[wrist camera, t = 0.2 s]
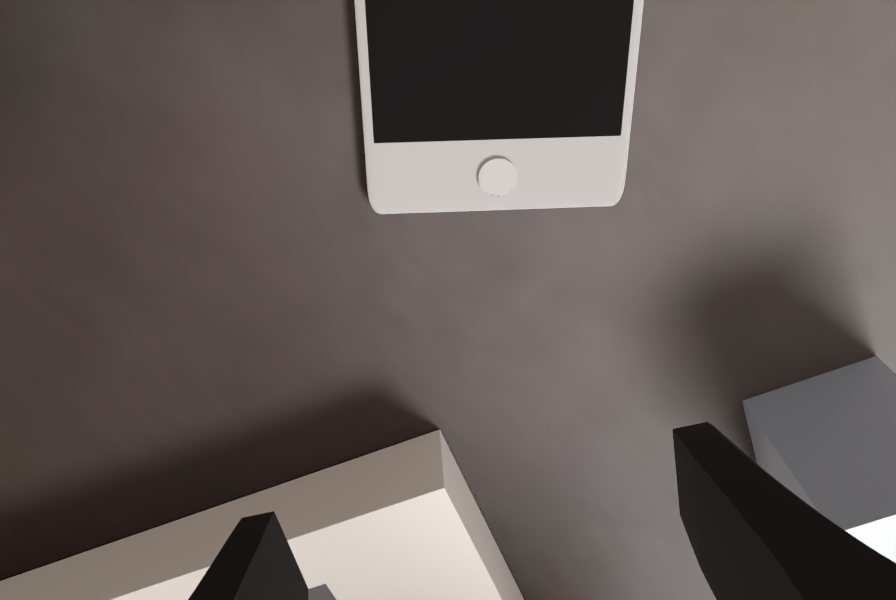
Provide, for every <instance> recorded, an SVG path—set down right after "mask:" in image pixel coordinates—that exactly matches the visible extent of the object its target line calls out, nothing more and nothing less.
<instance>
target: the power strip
mask: <svg viewBox="0 0 896 600" xmlns="http://www.w3.org/2000/svg"><path fill="white" fill-rule="evenodd" d="M272 511H274V512H275V514H276V516H277V519H278V521H279V523H280V526H281V528H282V530H283V532H284V535H285V537H286V539H287V541H288V544H289V546H290V548H291V551H292V553H293V555H294V557H295V560H296V562H297V564H298V566H299V569H300V571H301V573H302V575H303V578H304V580H305V582H306V585H307V587H308V600H524V598H523V596H522V594H521V592H520V590H519V588H518V586H517V584H516V582H515V580H514V578H513V576H512V574H511V572H510V570H509V568H508V566H507V564H506V562H505V560H504V558H503V556H502V554H501V552H500V550H499V548H498V546H497V544H496V542H495V540H494V538H493V536H492V534H491V532H490V530H489V528H488V526H487V524H486V522H485V520H484V518H483V516H482V514H481V512H480V510H479V508H478V506H477V504H476V502H475V500H474V498H473V496H472V494H471V492H470V489H469V487H468V485H467V483H466V481H465V479H464V477H463V475H462V473H461V471H460V469H459V467H458V465H457V463H456V461H455V459H454V457H453V455H452V453H451V451H450V449H449V447H448V445H447V443H446V441H445V439H444V437H443V435H442V433H441V431H440V429H439V430H436V431H433V432H431V433H428V434H425V435H422V436H419V437H416V438H413V439H410V440H407V441H404V442H402V443H399V444H396V445H393V446H390V447H387V448H384V449H381V450H378V451H376V452H373V453H370V454H367V455H364V456H361V457H358V458H355V459H352V460H349V461H347V462H344V463H341V464H338V465H335V466H332V467H329V468H326V469H323V470H320V471H318V472H315V473H312V474H309V475H306V476H303V477H300V478H297V479H294V480H291V481H289V482H286V483H283V484H280V485H277V486H274V487H271V488H268V489H265V490H263V491H260V492H257V493H254V494H251V495H248V496H245V497H242V498H239V499H236V500H234V501H231V502H228V503H225V504H222V505H219V506H216V507H213V508H210V509H207V510H205V511H202V512H199V513H196V514H193V515H190V516H187V517H184V518H181V519H179V520H176V521H173V522H170V523H167V524H164V525H161V526H158V527H155V528H152V529H150V530H147V531H144V532H141V533H138V534H135V535H132V536H129V537H126V538H123V539H121V540H118V541H115V542H112V543H109V544H106V545H103V546H100V547H97V548H95V549H92V550H89V551H86V552H83V553H80V554H77V555H74V556H71V557H68V558H66V559H63V560H60V561H57V562H54V563H51V564H48V565H45V566H42V567H39V568H37V569H34V570H31V571H28V572H25V573H22V574H19V575H16V576H13V577H10V578H8V579H5V580H2V581H0V600H188V599H189V598H190V596H191V595H192V593H193V592H194V590H195V589H196V587H197V586H198V584H199V583H200V581H201V579H202V578H203V576H204V575H205V573H206V572H207V570H208V569H209V567H210V566H211V564H212V562H213V561H214V559H215V558H216V556H217V555H218V553H219V551H220V550H221V548H222V547H223V545H224V544H225V542H226V541H227V539H228V537H229V536H230V534H231V533H232V531H233V530H234V528H235V527H236V525H237V524H238V522H239V521H240V519H241V518H243V517H248V516H253V515H258V514H263V513H268V512H272Z"/></svg>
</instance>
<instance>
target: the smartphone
mask: <svg viewBox="0 0 896 600" xmlns="http://www.w3.org/2000/svg"><path fill="white" fill-rule="evenodd" d="M354 3H355V17H356V32H357V46H358V60H359V75H360V89H361V104H362V118H363V133H364V147H365V161H366V176H367V190H368V197H369V201H370V203H371V206H372V208H373V209H374V210H375V212H376V213H379V214H398V213H427V212H455V211H484V210H512V209H541V208H569V207H598V206H613V205H615V204H616V203H617V202H618V201H619V200H620V198H621V195H622V193H623V190H624V185H625V178H626V168H627V158H628V149H629V139H630V129H631V119H632V110H633V100H634V90H635V81H636V71H637V61H638V51H639V42H640V32H641V22H642V12H643V3H644V0H354Z"/></svg>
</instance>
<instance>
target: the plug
mask: <svg viewBox="0 0 896 600" xmlns="http://www.w3.org/2000/svg"><path fill="white" fill-rule="evenodd" d="M742 402H743V406H744V411H745V415H746V419H747V423H748V428H749V432H750V436H751V440H752V445H753V449H754V453H755V457H756V462H757V464H758V465H759V466H760V467H761V468H763V469H764V470H765V471H766V472H767V473H769V474H770V475H771V476H772V477H774V478H775V479H776V480H777V481H779V482H780V483H781V484H782V485H784V486H785V487H786V488H788V489H789V490H790V491H792V492H793V493H794V494H795V495H797V496H798V497H799V498H801V499H802V500H803V501H804V502H806V503H807V504H808V505H810V506H811V507H812V508H814V509H815V510H817V511H818V512H819V513H821V514H822V515H823V516H825V517H826V518H828V519H829V520H831V521H832V522H833V523H835V524H836V525H838V526H839V527H841V528H842V529H844V530H845V531H846V532H848V533H849V534H851V535H852V536H854V537H855V538H857V539H858V540H860V541H861V542H863V543H864V544H866V545H867V546H869V547H871V548H872V549H874V550H875V551H877V552H878V553H880V554H882V555H883V556H885V557H887V558H888V559H890V560H891V561H893V562H895V563H896V374H895V373H894V372H893V371H892V370H891V369H890V368H889V367H887V366H886V365H885V364H884V363H883V362H882V361H881V360H880V359H879V358H878V357H877V356H875V357H872V358H869V359H866V360H863V361H860V362H857V363H854V364H851V365H848V366H845V367H842V368H839V369H836V370H833V371H830V372H827V373H824V374H821V375H818V376H815V377H812V378H809V379H806V380H803V381H800V382H797V383H794V384H791V385H788V386H785V387H782V388H779V389H776V390H773V391H770V392H767V393H764V394H761V395H758V396H755V397H752V398H749V399H746V400H743V401H742Z"/></svg>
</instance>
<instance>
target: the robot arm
mask: <svg viewBox="0 0 896 600" xmlns="http://www.w3.org/2000/svg"><path fill="white" fill-rule="evenodd" d="M673 439H674V451H675V462H676V473H677V485H678V496H679V508H680V516H681V518H682V521H683V524H684V526H685V529H686V532H687V534H688V537H689V540H690V542H691V545H692V548H693V550H694V553H695V555H696V558H697V560H698V563H699V565H700V568H701V570H702V572H703V574H704V576H705V578H706V580H707V582H708V584H709V586H710V588H711V590H712V591H713V593H714V595H715V597H716V599H717V600H896V563H895V562H893V561H891V560H890V559H888V558H887V557H885V556H883V555H882V554H880V553H878V552H877V551H875V550H874V549H872V548H871V547H869V546H867V545H866V544H864V543H863V542H861V541H860V540H858V539H857V538H855V537H854V536H852V535H851V534H849V533H848V532H846V531H845V530H844V529H842V528H841V527H839V526H838V525H836V524H835V523H833V522H832V521H831V520H829V519H828V518H826V517H825V516H823V515H822V514H821V513H819V512H818V511H817V510H815V509H814V508H812V507H811V506H810V505H808V504H807V503H806V502H804V501H803V500H802V499H801V498H799V497H798V496H797V495H795V494H794V493H793V492H792V491H790V490H789V489H788V488H786V487H785V486H784V485H782V484H781V483H780V482H779V481H777V480H776V479H775V478H774V477H772V476H771V475H770V474H769V473H767V472H766V471H765V470H764V469H763V468H761V467H760V466H759V465H758V464H757V463H755V462H754V461H753V460H752V459H751V458H749V457H748V456H747V455H746V454H745V453H744V452H742V451H741V450H740V449H739V448H738V447H737V446H736V445H734V444H733V443H732V442H731V441H730V440H729V439H728V438H727V437H725V436H724V435H723V434H722V433H721V432H720V431H719V430H718V429H716V428H715V427H714V426H713V425H711V424H710V423H708V422H705V423H700V424H695V425H691V426H686V427H681V428H676V429H673ZM188 600H308V587H307V585H306V582H305V580H304V578H303V575H302V573H301V571H300V569H299V566H298V564H297V562H296V560H295V557H294V555H293V553H292V551H291V548H290V546H289V544H288V541H287V539H286V537H285V535H284V532H283V530H282V528H281V526H280V523H279V521H278V519H277V516H276V514H275V512H274V511H272V512H268V513H263V514H258V515H253V516H248V517H243V518H241V519H240V521H239V522H238V524H237V525H236V527H235V528H234V530H233V531H232V533H231V534H230V536H229V537H228V539H227V541H226V542H225V544H224V545H223V547H222V548H221V550H220V551H219V553H218V555H217V556H216V558H215V559H214V561H213V562H212V564H211V566H210V567H209V569H208V570H207V572H206V573H205V575H204V576H203V578H202V579H201V581H200V583H199V584H198V586H197V587H196V589H195V590H194V592H193V593H192V595H191V596H190V598H189V599H188Z"/></svg>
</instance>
